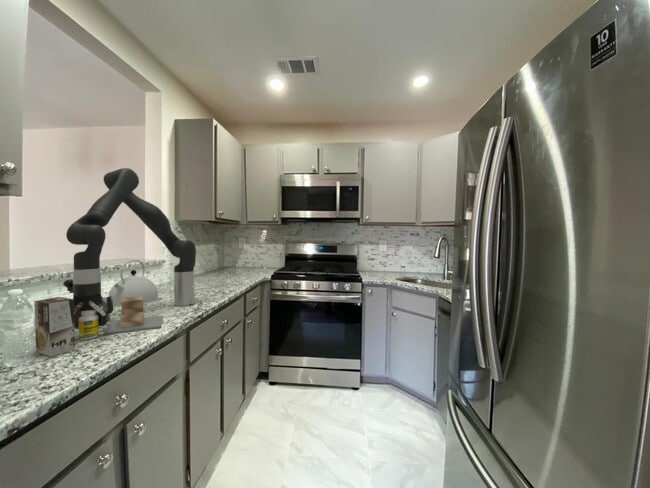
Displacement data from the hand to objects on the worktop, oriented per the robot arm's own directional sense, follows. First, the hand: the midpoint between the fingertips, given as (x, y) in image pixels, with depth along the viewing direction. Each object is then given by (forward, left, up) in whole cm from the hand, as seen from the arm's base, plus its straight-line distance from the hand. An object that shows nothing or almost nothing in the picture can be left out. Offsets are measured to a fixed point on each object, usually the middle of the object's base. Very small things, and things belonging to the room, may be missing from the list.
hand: (88, 327), depth 100 cm
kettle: (-7, -56, -4) cm, 57 cm away
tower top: (-12, -8, +2) cm, 15 cm away
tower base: (-12, -8, -3) cm, 15 cm away
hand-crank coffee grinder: (+6, -20, -4) cm, 21 cm away
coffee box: (+6, +10, -4) cm, 12 cm away
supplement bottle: (0, 0, -4) cm, 4 cm away
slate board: (-13, -8, -4) cm, 16 cm away
